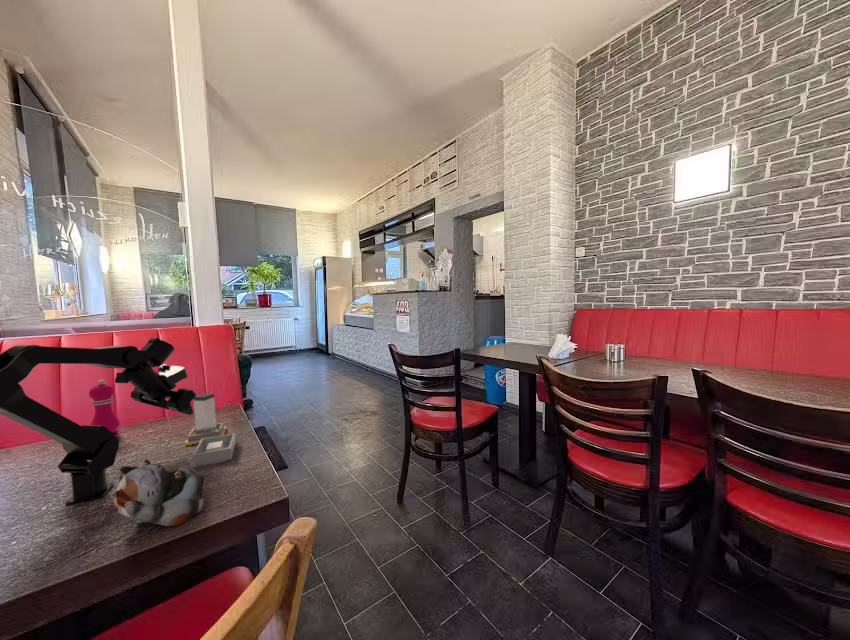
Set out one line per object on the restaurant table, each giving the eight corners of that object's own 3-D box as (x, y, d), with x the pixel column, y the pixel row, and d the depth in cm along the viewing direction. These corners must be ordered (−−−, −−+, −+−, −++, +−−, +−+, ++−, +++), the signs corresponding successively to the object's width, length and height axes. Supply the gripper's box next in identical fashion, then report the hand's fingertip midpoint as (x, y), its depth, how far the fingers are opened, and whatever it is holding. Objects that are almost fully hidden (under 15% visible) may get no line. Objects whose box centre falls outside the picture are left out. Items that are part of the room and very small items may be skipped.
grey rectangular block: (206, 436, 109) (203, 397, 108) (196, 436, 110) (193, 396, 109) (216, 431, 113) (214, 393, 112) (206, 431, 114) (203, 393, 113)
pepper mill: (117, 432, 117) (112, 376, 116) (123, 437, 113) (118, 378, 112) (88, 440, 112) (82, 380, 110) (93, 445, 107) (87, 383, 106)
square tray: (222, 439, 109) (221, 431, 109) (185, 445, 105) (184, 437, 105) (226, 429, 118) (225, 421, 118) (192, 434, 114) (191, 426, 114)
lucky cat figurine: (201, 522, 68) (155, 480, 61) (137, 559, 65) (82, 518, 58) (211, 469, 80) (174, 429, 74) (158, 498, 77) (115, 459, 71)
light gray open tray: (231, 460, 94) (230, 447, 94) (193, 467, 91) (192, 454, 90) (236, 443, 105) (235, 432, 105) (202, 450, 101) (201, 438, 101)
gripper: (193, 362, 96) (222, 394, 106) (146, 353, 101) (178, 384, 111) (162, 395, 88) (196, 425, 99) (112, 383, 93) (150, 413, 104)
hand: (180, 410), depth 103 cm, fingers open, 9 cm apart
